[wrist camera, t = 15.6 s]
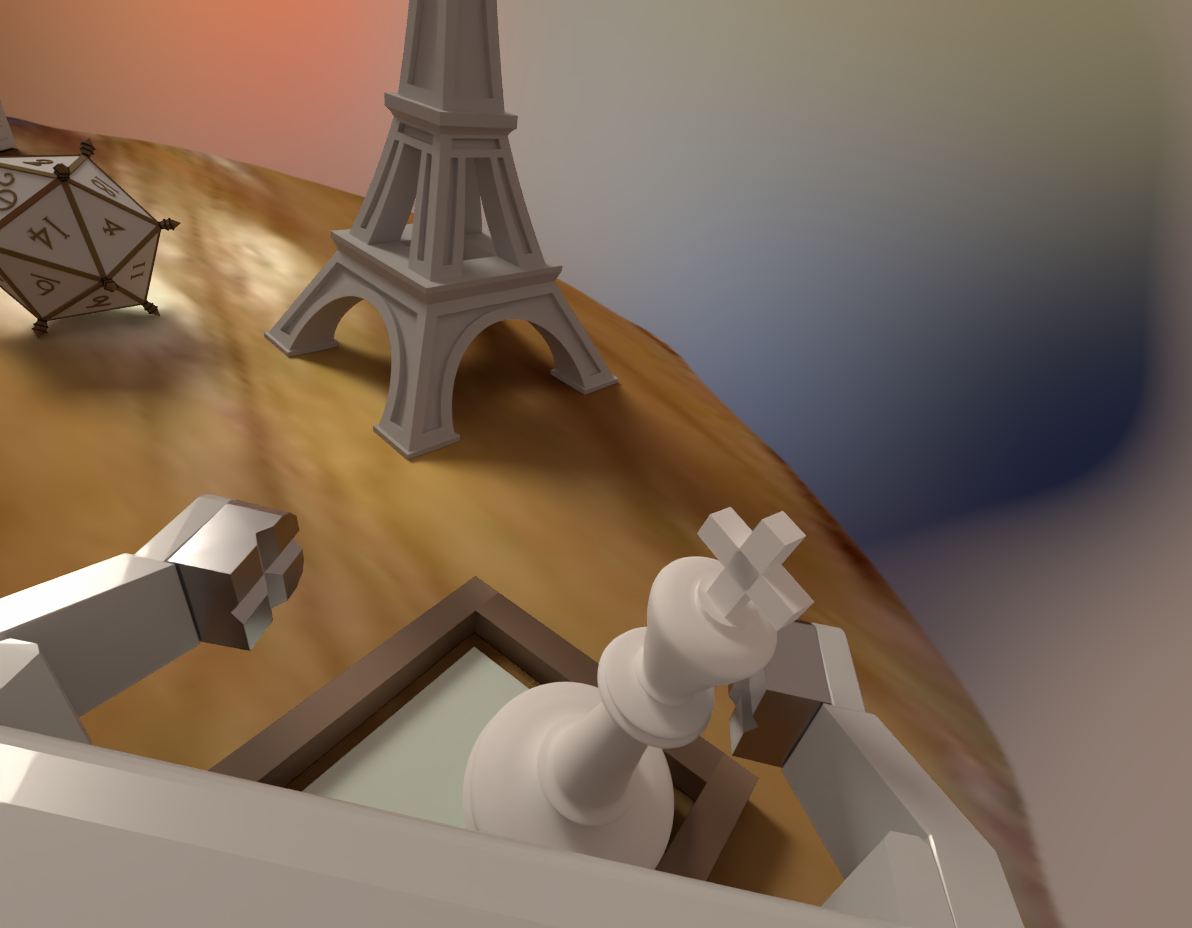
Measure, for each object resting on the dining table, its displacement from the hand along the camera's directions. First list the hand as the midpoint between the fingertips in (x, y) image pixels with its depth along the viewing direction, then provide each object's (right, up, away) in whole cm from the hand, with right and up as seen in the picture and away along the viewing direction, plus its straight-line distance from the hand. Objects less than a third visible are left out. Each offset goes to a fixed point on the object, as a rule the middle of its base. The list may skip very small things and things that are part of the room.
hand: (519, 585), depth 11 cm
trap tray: (-8, -11, -4) cm, 14 cm away
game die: (-24, +10, +21) cm, 33 cm away
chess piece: (+1, -6, +4) cm, 7 cm away
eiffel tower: (-7, +8, +23) cm, 25 cm away
